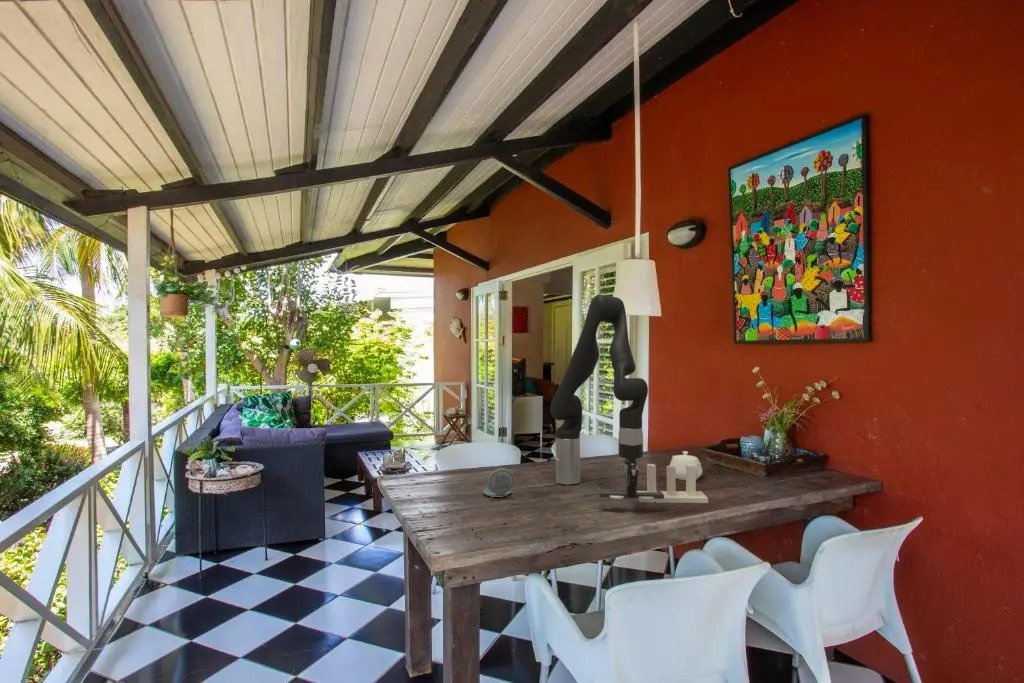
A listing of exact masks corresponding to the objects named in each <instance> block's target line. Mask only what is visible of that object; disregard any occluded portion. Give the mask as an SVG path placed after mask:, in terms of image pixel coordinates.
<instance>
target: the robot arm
mask: <svg viewBox="0 0 1024 683" xmlns="http://www.w3.org/2000/svg"><path fill="white" fill-rule="evenodd" d="M602 322H603V323H606V324H607V323H608V324H611V325H612V328H613V331H614V333H613V337H612V341H611V342H610V346H609V357H610V362H611V364H612V365H611V366H612V369H613V388H612V389H613V395H614V397H615V398H616V399H617V400H619V401H621V402H626V401H627V402H628V401H632V402H631V404H630V405H629V406H627V407H624V408H621V409H620V410H619V412H618V413H619V415H618V416H619V418H618V419H619V421H618V423H619V424H618V426H619V428H618V456H619V457H620V458H624V460H623V466H624V469H623V471H624V472H623V473H624V478H625V479H624V480H625V482H626V479H628V483H627V485H628V497H629V498H628V499H636V498H635V486H637V487H638V479H639V478H638V477H639V463H638V462H637V459H642V458H643V457H644V432H643V413H644V408H645V405H646V400H647V397H648V394H649V387H648V384H647V382H646V380H645V379H644V378H642V377H641V378H640V377H633V378H632V377H629V378H627V376H629V375H630V376H631V374H634V372H635V371H636V363H635V360H634V356H633V353H632V350H631V345H630V340H629V332H628V321H627V313H626V307H625V303H624V302H623V299H621V298H619V297H617V296H612V295H606V294H596V295H595V296H594V297H593V298H592V299H591V301H590V304H589V306H588V309H587V313H586V317H585V320H584V324H583V327H582V330H581V333H580V336H579V338H578V341H577V344H576V346H575V348H574V350H573V352H572V356H571V357H570V360H569V364H568V366H567V368H566V371H565V373H564V375H563V378H562V380H561V382H560V384H559V385H558V388H557V390H556V392H555V394H554V396H553V397H552V399H551V402H550V413H551V414H550V415H551V416H552V418H553V419H554V420H556V421H563V423H562V424H561V425H560V426H559V427H558V428H556V429H555V431H554V432H555V484H556V483H561V484H577V483H579V484H581V432H582V426H583V405H582V400H581V398H580V397H579V396H578V395H576V394H575V393H576V392H577V391H578V389H579V388H580V387H581V386H582V385H583V384H584V383H586V382H587V381H588V379H589V378H590V377H591V375H592V374H593V373H594V371H595V369H596V366H597V363H598V361H599V359H600V350H599V349H600V348H599V346H598V341H597V332H598V329H599V326H600V324H601V323H602ZM631 480H634V482H631ZM561 484H560V485H561ZM577 485H578V484H577Z"/></svg>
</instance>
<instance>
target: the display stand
mask: <svg viewBox="0 0 1024 683" xmlns="http://www.w3.org/2000/svg"><path fill="white" fill-rule="evenodd" d="M676 480H677V479H676V476H675V466H670V465H666V491H665V490H660V491H661V492H662V493H663V494H664V499H651V500H643V499H639V498H637V499H638V501H639V502H640V503H654V502H656V503H659V504H660V503H664V504H665V503H669V504H671V503H672V504H674V503H675V504H676V503H677V504H678V503H679V504H682V503H683V504H685V503H686V504H709V498H708V497H707V496H706V495H705V494H704V493H703V492H702V491H701V490H699V491H697V489H696V483H697V479H696V473H695V465H693V464H686V480H685V484H686V485H685V491H684V490H683V491H681V490H679V491H677V490H676V484H677V483H676ZM646 484H647V486H646V489H647V490H637V492H651V493H657V465H655V463H647V464H646Z"/></svg>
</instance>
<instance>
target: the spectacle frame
mask: <svg viewBox="0 0 1024 683" xmlns="http://www.w3.org/2000/svg"><path fill="white" fill-rule="evenodd" d="M631 482H634V480H631ZM627 483H628V479H626V481H625V490H624V491H611V490H610V491H606V490H604V491H602V490H601V488H600V487H596V488H597V489H596V490H597V495H598V497H599V498H610V499H614V500H623V499H630V498H629V497H628V485H627ZM637 487H638V485H637V486H635V498H634V499H638V498H639V499H643V500H651V499H664V494H663V493H662V492H661V491H662V490H660V488H656V491H657V493H651V492H637V491H638V490H637ZM639 499H638V500H639Z"/></svg>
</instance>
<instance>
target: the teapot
mask: <svg viewBox="0 0 1024 683" xmlns="http://www.w3.org/2000/svg"><path fill="white" fill-rule="evenodd" d="M688 453H689V451H687V450H685V451H682V454H677V455H672V456H671V461H670V462H669V463H670V464H669V466H675V476H676V480H680V481H686V464H693V465H695V473H696V480H698V479H699V478H700V477H701V475H702V474H703V468H702V465H701V462H700V460H699V458H698V457H697V456H693V455H690V454H688Z"/></svg>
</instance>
